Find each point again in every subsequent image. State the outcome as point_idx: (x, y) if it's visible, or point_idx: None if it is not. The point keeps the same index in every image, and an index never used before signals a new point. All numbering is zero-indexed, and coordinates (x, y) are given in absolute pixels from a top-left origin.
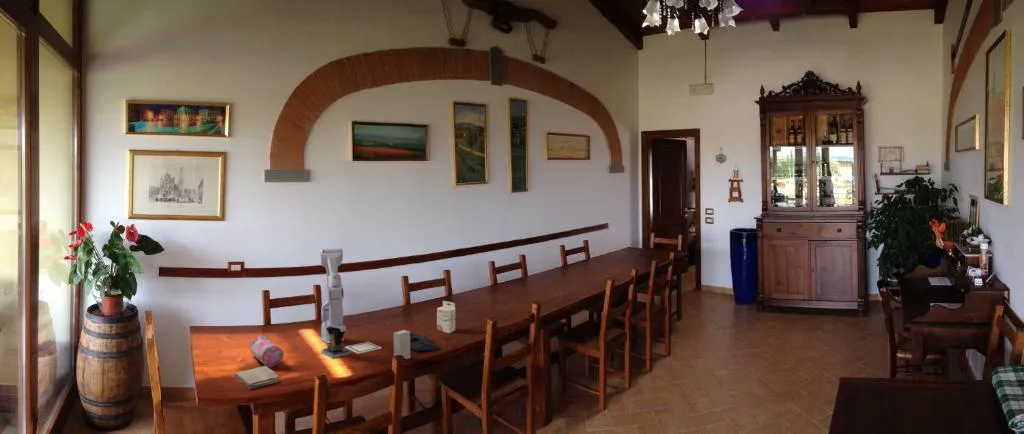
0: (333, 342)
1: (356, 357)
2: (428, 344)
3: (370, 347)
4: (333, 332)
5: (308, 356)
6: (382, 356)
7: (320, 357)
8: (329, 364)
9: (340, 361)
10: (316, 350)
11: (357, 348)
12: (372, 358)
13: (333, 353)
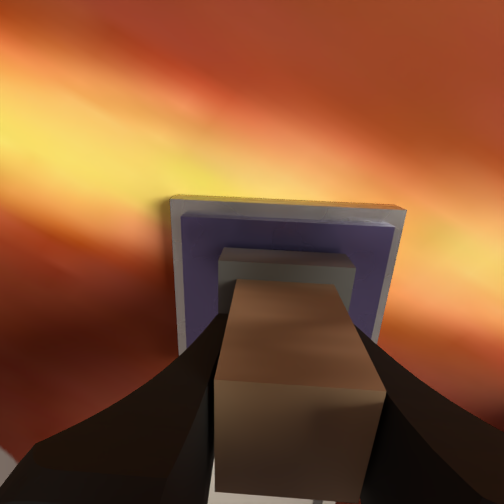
0: (235, 309)
1: (89, 340)
2: None
3: (212, 486)
4: (131, 452)
5: (406, 36)
6: (22, 446)
7: (279, 125)
8: (26, 82)
9: (60, 206)
10: (499, 207)
11: None
12: (13, 394)
13: (183, 226)
